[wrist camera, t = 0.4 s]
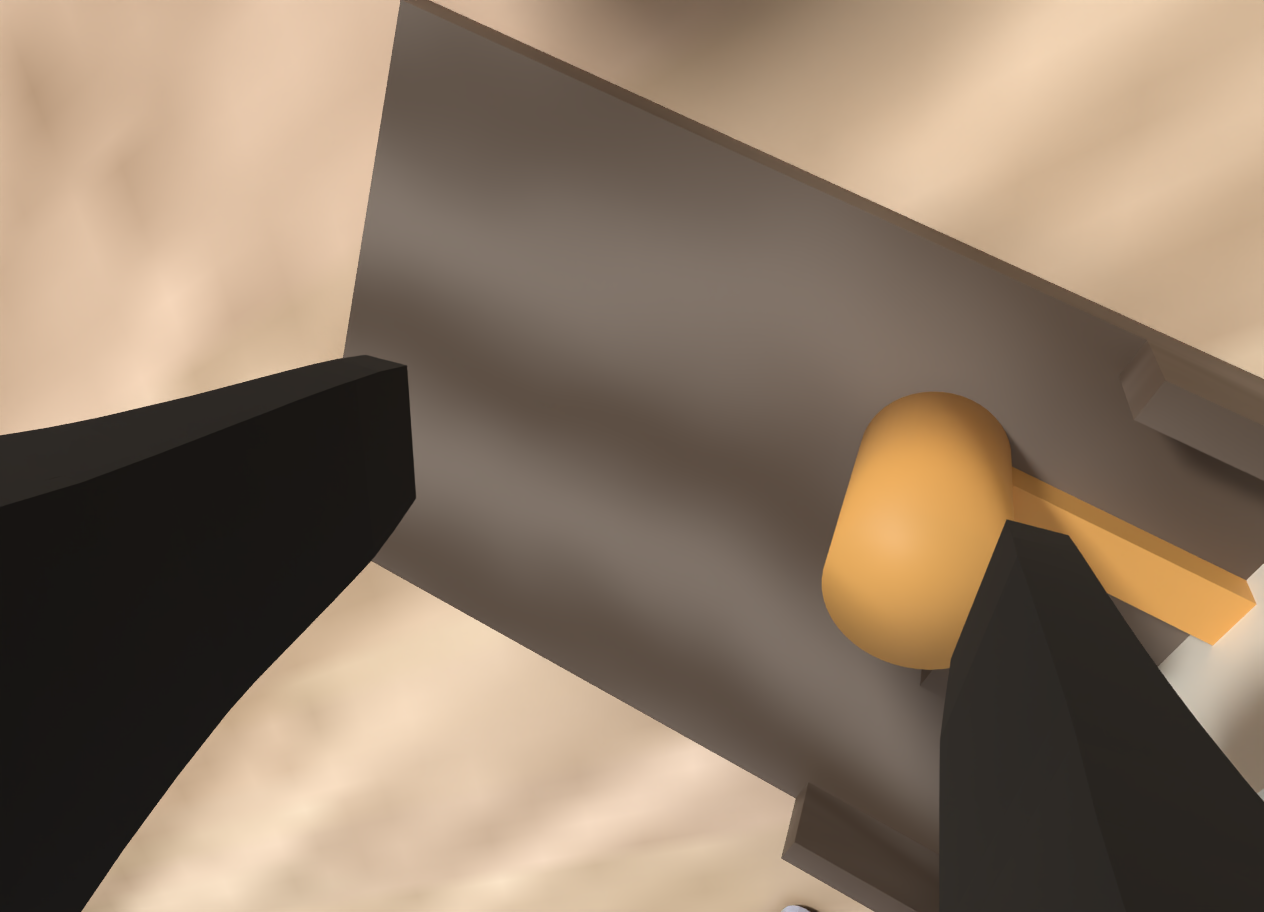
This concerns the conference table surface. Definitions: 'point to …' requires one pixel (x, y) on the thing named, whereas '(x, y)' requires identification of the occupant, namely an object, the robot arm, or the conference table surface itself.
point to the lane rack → (730, 418)
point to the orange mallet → (966, 538)
